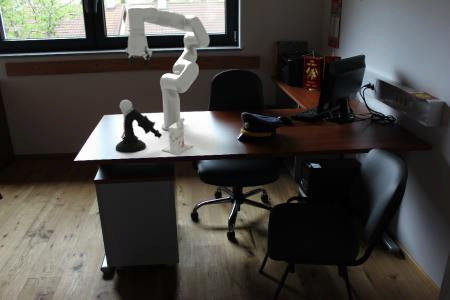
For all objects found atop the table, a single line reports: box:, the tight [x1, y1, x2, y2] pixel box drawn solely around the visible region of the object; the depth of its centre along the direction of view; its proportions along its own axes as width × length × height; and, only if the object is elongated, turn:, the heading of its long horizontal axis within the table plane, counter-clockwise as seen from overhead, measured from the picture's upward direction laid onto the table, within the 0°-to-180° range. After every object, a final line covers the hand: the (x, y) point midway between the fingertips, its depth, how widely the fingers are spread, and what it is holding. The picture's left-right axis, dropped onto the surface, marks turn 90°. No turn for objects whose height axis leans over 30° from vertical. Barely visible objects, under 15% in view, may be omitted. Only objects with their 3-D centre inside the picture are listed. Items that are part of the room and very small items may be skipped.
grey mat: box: [161, 143, 194, 155], centre depth 211 cm, size 13×10×1 cm
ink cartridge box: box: [168, 117, 185, 150], centre depth 209 cm, size 9×5×15 cm, turn 163°
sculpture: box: [115, 99, 163, 154], centre depth 209 cm, size 15×24×25 cm, turn 94°
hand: (139, 66), depth 217 cm, fingers open, 9 cm apart
